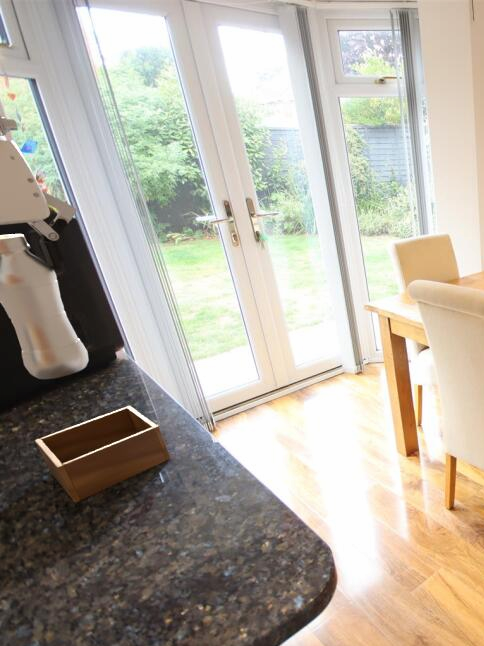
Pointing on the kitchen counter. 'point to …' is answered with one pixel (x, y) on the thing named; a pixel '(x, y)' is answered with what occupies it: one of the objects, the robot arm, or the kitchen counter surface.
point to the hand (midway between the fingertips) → (20, 273)
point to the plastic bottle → (37, 312)
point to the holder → (103, 452)
